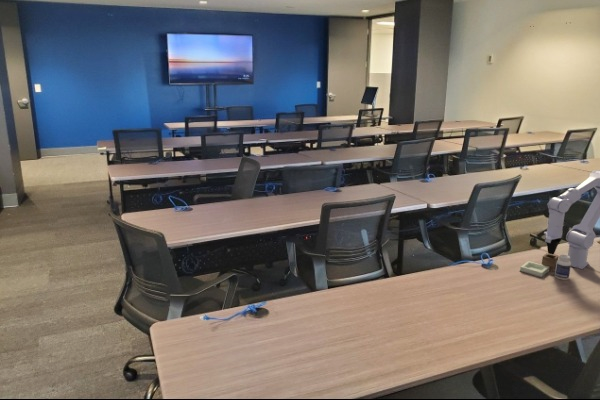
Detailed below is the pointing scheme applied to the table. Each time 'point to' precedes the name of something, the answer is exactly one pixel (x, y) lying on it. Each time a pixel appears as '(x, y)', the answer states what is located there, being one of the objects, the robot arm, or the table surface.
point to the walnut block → (550, 261)
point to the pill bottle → (563, 267)
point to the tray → (534, 269)
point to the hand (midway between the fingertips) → (551, 253)
